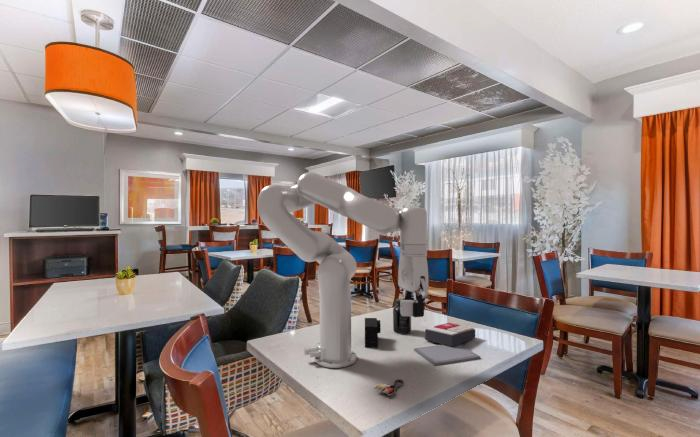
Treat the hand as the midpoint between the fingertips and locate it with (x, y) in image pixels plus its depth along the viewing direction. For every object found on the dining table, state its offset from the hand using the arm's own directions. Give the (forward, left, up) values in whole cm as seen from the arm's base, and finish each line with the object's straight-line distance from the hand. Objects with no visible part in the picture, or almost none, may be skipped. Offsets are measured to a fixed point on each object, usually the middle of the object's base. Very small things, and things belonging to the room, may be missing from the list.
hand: (413, 313), depth 93 cm
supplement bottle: (+11, +29, -15) cm, 35 cm away
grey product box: (+23, +15, -15) cm, 31 cm away
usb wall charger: (0, 0, -1) cm, 1 cm away
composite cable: (-11, -10, -16) cm, 22 cm away
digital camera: (-4, +22, -15) cm, 27 cm away
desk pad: (+14, +5, -15) cm, 21 cm away
